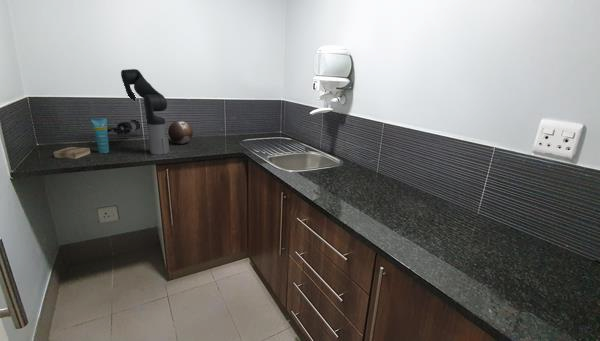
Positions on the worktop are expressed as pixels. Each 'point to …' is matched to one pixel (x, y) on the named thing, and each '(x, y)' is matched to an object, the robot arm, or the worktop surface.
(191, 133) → the wooden sphere
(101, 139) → the tube
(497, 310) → the worktop surface
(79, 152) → the plinth
